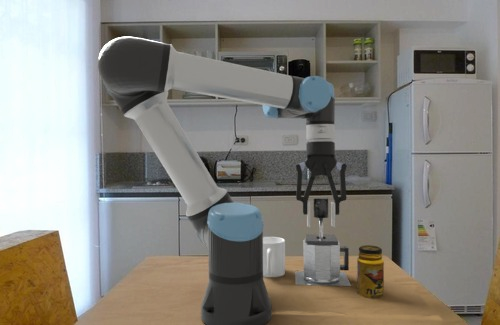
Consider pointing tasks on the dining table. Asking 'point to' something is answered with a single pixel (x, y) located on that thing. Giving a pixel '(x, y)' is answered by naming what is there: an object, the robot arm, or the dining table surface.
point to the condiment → (370, 272)
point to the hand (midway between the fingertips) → (321, 226)
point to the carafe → (323, 259)
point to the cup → (273, 256)
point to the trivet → (301, 281)
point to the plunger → (320, 212)
